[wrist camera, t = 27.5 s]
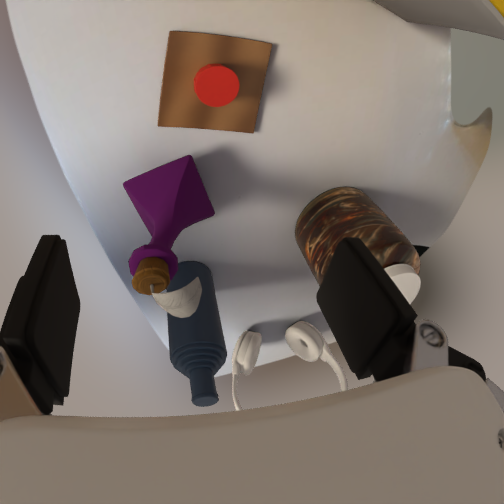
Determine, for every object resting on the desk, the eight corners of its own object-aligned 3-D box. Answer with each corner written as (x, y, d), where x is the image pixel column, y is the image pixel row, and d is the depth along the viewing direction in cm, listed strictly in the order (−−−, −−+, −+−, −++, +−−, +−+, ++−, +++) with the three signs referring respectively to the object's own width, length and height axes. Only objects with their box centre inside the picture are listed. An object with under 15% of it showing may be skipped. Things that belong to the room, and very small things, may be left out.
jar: (342, 262, 47) (388, 337, 36) (280, 247, 43) (320, 334, 31) (384, 201, 41) (447, 269, 30) (323, 173, 37) (389, 248, 25)
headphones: (219, 326, 51) (243, 439, 36) (322, 308, 54) (367, 406, 39) (221, 349, 55) (244, 451, 40) (315, 332, 58) (353, 422, 43)
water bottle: (166, 294, 44) (174, 414, 30) (166, 260, 40) (173, 390, 26) (209, 294, 45) (232, 410, 31) (214, 260, 42) (241, 385, 28)
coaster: (157, 125, 29) (157, 126, 28) (169, 31, 23) (169, 30, 22) (252, 132, 32) (253, 133, 31) (270, 43, 26) (272, 43, 25)
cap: (240, 74, 27) (247, 78, 24) (220, 106, 28) (225, 114, 26) (206, 57, 25) (209, 58, 22) (186, 90, 27) (187, 95, 24)
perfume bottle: (154, 222, 36) (150, 351, 22) (126, 170, 31) (94, 290, 17) (212, 199, 36) (242, 323, 22) (189, 143, 31) (204, 249, 17)
